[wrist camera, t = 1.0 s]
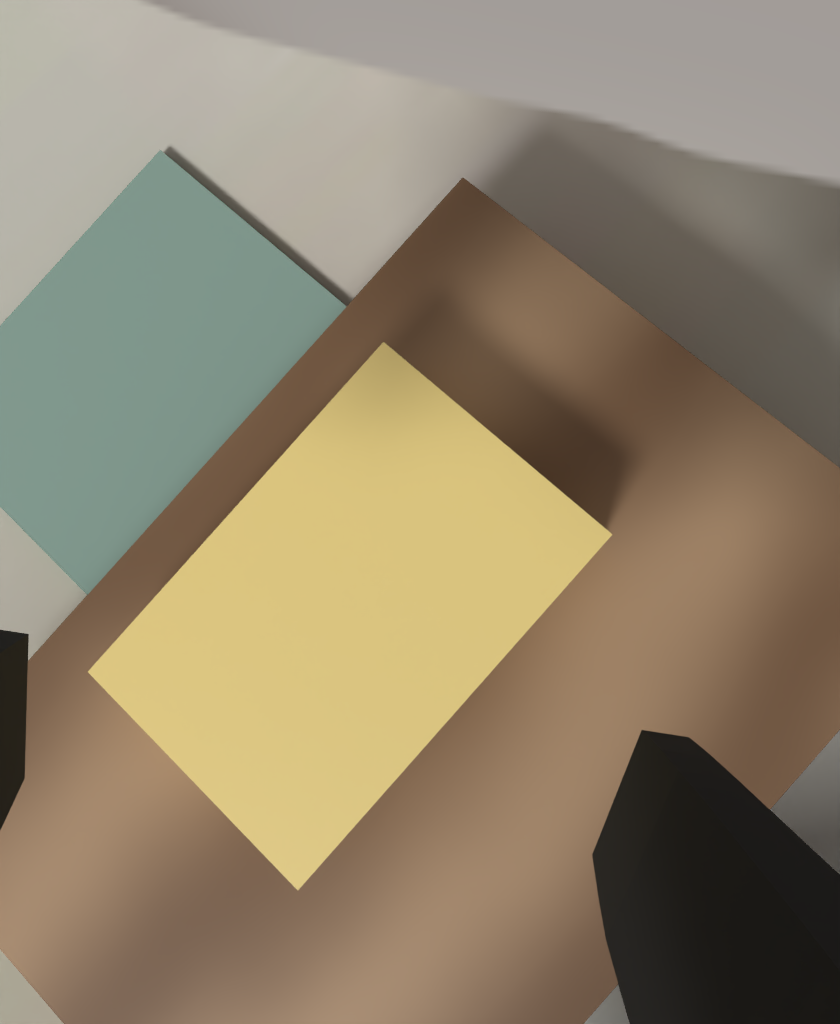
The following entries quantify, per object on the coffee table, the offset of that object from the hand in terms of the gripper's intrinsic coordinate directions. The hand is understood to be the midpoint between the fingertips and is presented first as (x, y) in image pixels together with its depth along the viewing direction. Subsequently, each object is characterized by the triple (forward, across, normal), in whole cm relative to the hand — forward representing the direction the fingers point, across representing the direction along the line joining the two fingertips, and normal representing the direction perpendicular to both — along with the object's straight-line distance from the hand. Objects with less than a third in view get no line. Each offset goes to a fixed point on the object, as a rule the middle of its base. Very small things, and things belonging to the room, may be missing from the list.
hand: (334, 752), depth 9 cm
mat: (+16, +7, 0) cm, 17 cm away
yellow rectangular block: (+8, 0, +2) cm, 8 cm away
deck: (+10, -3, +6) cm, 12 cm away
